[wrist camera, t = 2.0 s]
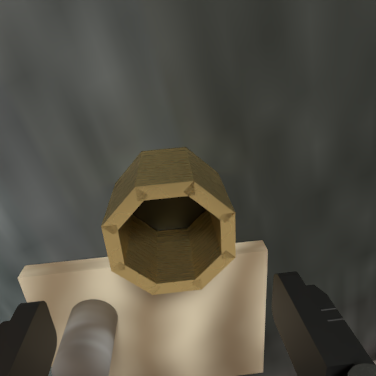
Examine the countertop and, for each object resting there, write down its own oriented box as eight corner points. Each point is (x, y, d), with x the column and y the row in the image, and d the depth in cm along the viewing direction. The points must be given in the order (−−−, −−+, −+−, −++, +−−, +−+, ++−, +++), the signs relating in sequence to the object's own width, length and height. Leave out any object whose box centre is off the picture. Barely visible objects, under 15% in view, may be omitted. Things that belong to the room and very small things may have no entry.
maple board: (262, 240, 22) (315, 343, 14) (258, 359, 27) (296, 481, 19) (25, 265, 21) (-50, 387, 14) (67, 382, 26) (29, 517, 19)
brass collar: (216, 144, 18) (234, 176, 14) (220, 233, 21) (236, 285, 17) (110, 154, 18) (93, 190, 14) (126, 243, 21) (117, 298, 16)
